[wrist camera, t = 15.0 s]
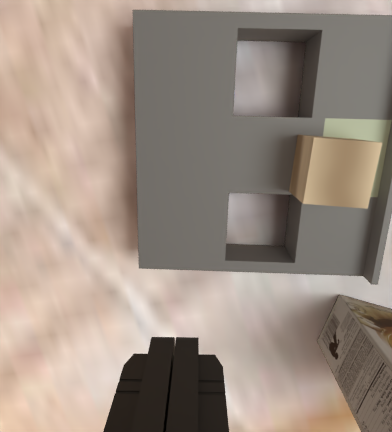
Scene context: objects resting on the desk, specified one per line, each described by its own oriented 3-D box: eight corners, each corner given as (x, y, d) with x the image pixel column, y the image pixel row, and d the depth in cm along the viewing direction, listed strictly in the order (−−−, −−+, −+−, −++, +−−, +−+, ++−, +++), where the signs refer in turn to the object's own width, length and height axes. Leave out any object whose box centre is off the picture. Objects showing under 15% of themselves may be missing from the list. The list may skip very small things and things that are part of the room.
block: (289, 191, 27) (302, 203, 23) (297, 134, 26) (313, 137, 22) (344, 195, 27) (367, 208, 23) (356, 139, 26) (382, 142, 22)
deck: (146, 250, 33) (135, 276, 28) (142, 24, 28) (128, 2, 22) (349, 257, 33) (377, 284, 28) (387, 30, 27) (431, 9, 22)
